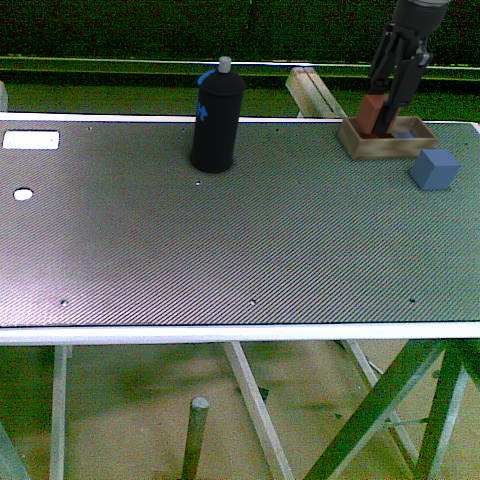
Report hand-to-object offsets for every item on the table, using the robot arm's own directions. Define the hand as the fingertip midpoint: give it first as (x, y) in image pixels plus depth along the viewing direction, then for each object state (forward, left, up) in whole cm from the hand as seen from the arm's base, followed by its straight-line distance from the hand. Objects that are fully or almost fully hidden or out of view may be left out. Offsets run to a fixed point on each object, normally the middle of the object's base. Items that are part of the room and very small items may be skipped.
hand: (372, 125), depth 93 cm
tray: (-4, 0, -5) cm, 6 cm away
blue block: (-8, +12, -5) cm, 15 cm away
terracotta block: (0, 0, 0) cm, 0 cm away
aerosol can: (+32, +4, -5) cm, 33 cm away
